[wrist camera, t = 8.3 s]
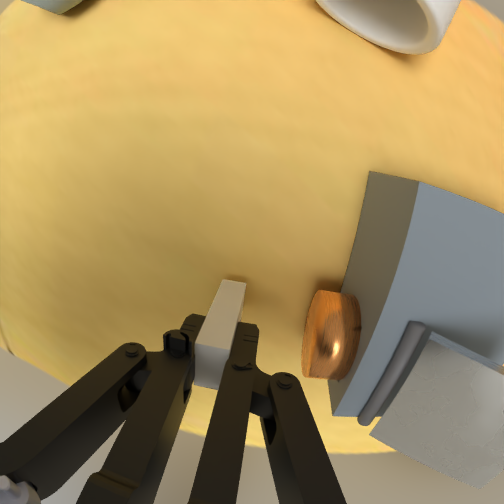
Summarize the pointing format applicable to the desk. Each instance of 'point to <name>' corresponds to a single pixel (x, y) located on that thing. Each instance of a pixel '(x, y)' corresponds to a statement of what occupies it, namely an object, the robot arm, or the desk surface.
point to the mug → (395, 21)
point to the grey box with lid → (418, 286)
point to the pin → (331, 335)
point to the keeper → (449, 413)
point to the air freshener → (54, 5)
